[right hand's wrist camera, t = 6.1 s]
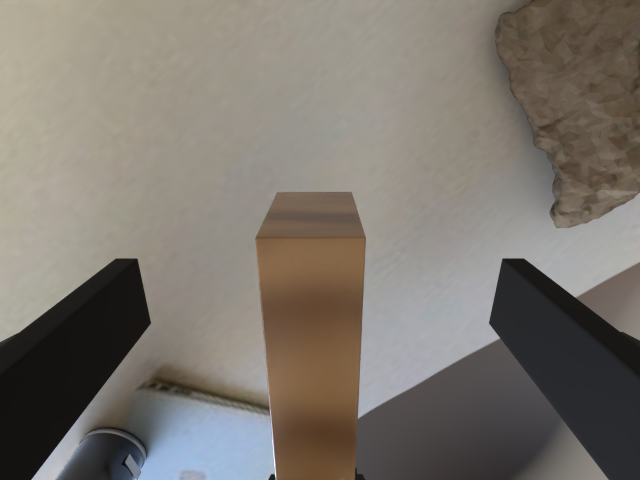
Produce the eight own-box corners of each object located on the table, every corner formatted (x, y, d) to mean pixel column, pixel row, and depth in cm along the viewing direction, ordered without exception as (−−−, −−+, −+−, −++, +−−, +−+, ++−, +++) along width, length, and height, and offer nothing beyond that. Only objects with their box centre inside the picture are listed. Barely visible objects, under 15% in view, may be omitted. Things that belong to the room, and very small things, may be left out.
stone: (729, 164, 32) (790, 175, 27) (549, 224, 38) (569, 243, 32) (666, -75, 28) (723, -119, 23) (477, 33, 34) (486, 19, 29)
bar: (276, 192, 26) (255, 237, 18) (351, 191, 26) (365, 237, 18) (291, 448, 36) (281, 554, 28) (344, 448, 36) (351, 554, 28)
